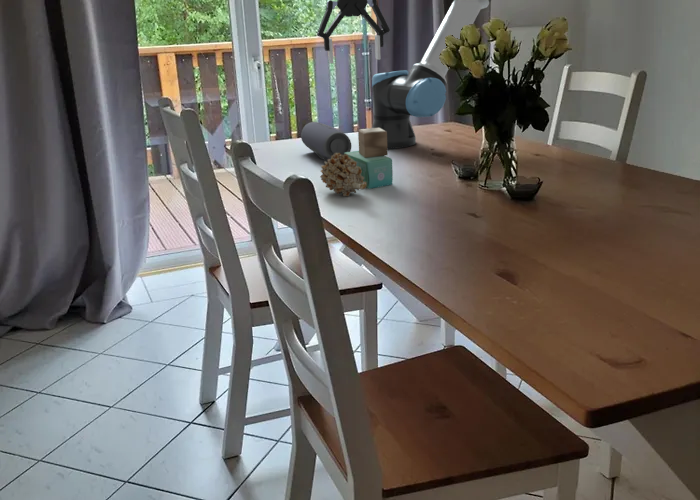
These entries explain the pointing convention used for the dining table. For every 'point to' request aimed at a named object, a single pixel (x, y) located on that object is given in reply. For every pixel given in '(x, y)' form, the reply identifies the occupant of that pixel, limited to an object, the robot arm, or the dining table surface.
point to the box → (374, 169)
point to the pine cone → (342, 174)
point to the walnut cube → (372, 142)
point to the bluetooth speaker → (325, 140)
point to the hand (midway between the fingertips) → (354, 61)
